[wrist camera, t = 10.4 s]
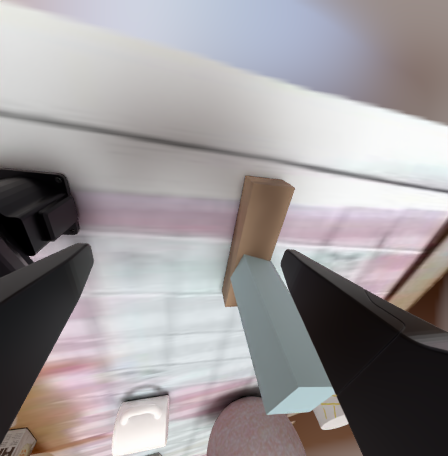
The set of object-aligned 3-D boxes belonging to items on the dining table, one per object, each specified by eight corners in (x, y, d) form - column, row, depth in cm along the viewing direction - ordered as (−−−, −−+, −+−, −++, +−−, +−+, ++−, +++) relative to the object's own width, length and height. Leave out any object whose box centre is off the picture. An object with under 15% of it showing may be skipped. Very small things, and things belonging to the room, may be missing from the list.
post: (230, 278, 24) (266, 415, 13) (243, 254, 22) (298, 387, 11) (256, 283, 25) (309, 411, 14) (271, 261, 24) (344, 386, 13)
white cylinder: (327, 340, 44) (370, 408, 33) (316, 359, 48) (351, 424, 37) (296, 345, 42) (331, 417, 32) (287, 363, 46) (315, 432, 36)
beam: (222, 290, 29) (225, 306, 27) (245, 175, 21) (253, 183, 18) (249, 289, 30) (254, 305, 28) (282, 179, 22) (295, 187, 19)
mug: (169, 402, 47) (166, 451, 40) (126, 409, 45) (115, 462, 38) (167, 380, 41) (163, 432, 34) (118, 387, 39) (103, 444, 32)
